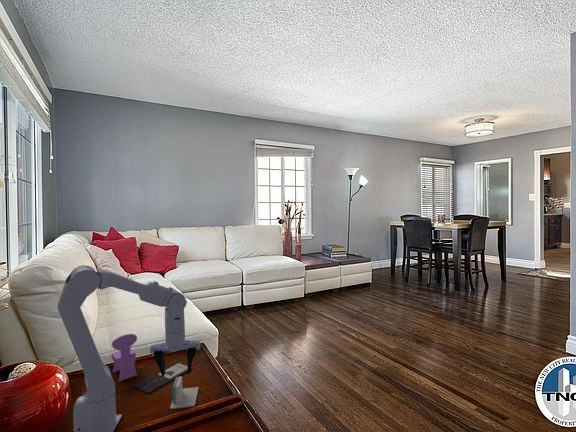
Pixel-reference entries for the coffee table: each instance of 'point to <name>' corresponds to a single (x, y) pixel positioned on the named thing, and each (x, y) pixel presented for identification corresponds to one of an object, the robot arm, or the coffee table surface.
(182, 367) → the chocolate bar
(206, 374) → the coffee table surface
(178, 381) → the tile
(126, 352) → the toy chair
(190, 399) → the mat
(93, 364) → the robot arm
